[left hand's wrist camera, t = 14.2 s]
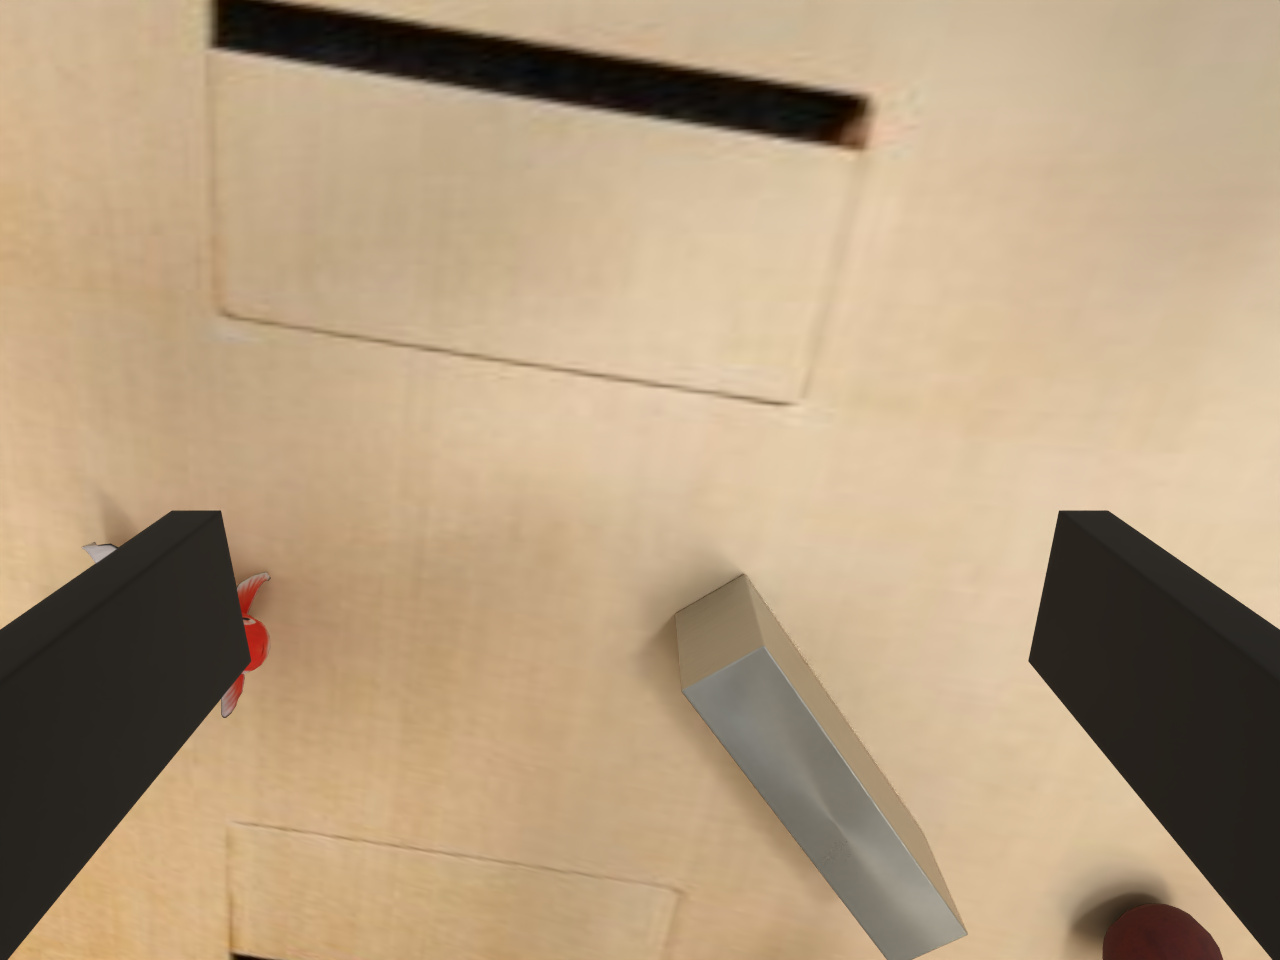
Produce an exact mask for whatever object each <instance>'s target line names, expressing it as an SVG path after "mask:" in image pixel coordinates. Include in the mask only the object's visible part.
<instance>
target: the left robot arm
mask: <svg viewBox="0 0 1280 960" xmlns="http://www.w3.org/2000/svg"><path fill="white" fill-rule="evenodd" d="M250 663H251V656H250V651H249V646H248V641H247V636H246V631H245V626H244V622H243V617H242V612H241V607H240V602H239V597H238V592H237V587H236V582H235V577H234V572H233V568H232V563H231V558H230V553H229V548H228V543H227V538H226V533H225V528H224V523H223V519H222V514H221V511H171V512H169V513H168V514H166V515H165V516H164V517H162V518H161V519H159V520H158V521H156V522H155V523H153V524H152V525H151V526H149V527H148V528H146V529H145V530H143V531H142V532H140V533H139V534H138V535H136V536H135V537H133V538H132V539H130V540H129V541H128V542H126V543H125V544H123V545H122V546H120V547H119V548H117V549H116V550H115V551H113V552H112V553H110V554H109V555H107V556H106V557H104V558H103V559H102V560H100V561H99V562H97V563H96V564H94V565H93V566H91V567H90V568H89V569H87V570H86V571H84V572H83V573H81V574H80V575H78V576H77V577H76V578H74V579H73V580H71V581H70V582H68V583H67V584H66V585H64V586H63V587H61V588H60V589H58V590H57V591H55V592H54V593H53V594H51V595H50V596H48V597H47V598H45V599H44V600H42V601H41V602H40V603H38V604H37V605H35V606H34V607H32V608H31V609H29V610H28V611H27V612H25V613H24V614H22V615H21V616H19V617H18V618H16V619H15V620H14V621H12V622H11V623H9V624H8V625H6V626H5V627H4V628H2V629H1V630H0V960H8V959H9V957H10V956H11V955H12V954H13V952H14V951H15V950H16V949H17V948H18V946H19V945H20V944H21V943H22V941H23V940H24V939H25V938H26V937H27V935H28V934H29V933H30V932H31V930H32V929H33V928H34V927H35V926H36V924H37V923H38V922H39V921H40V919H41V918H42V917H43V916H44V914H45V913H46V912H47V911H48V910H49V908H50V907H51V906H52V905H53V903H54V902H55V901H56V900H57V899H58V897H59V896H60V895H61V894H62V892H63V891H64V890H65V889H66V888H67V886H68V885H69V884H70V883H71V881H72V880H73V879H74V878H75V877H76V875H77V874H78V873H79V872H80V870H81V869H82V868H83V867H84V866H85V864H86V863H87V862H88V861H89V859H90V858H91V857H92V856H93V855H94V853H95V852H96V851H97V850H98V848H99V847H100V846H101V845H102V844H103V842H104V841H105V840H106V839H107V837H108V836H109V835H110V834H111V833H112V831H113V830H114V829H115V828H116V826H117V825H118V824H119V823H120V822H121V820H122V819H123V818H124V817H125V815H126V814H127V813H128V812H129V811H130V809H131V808H132V807H133V806H134V804H135V803H136V802H137V801H138V800H139V798H140V797H141V796H142V795H143V793H144V792H145V791H146V790H147V789H148V787H149V786H150V785H151V784H152V782H153V781H154V780H155V779H156V777H157V776H158V775H159V774H160V773H161V771H162V770H163V769H164V768H165V766H166V765H167V764H168V763H169V762H170V760H171V759H172V758H173V757H174V755H175V754H176V753H177V752H178V751H179V749H180V748H181V747H182V746H183V744H184V743H185V742H186V741H187V740H188V738H189V737H190V736H191V735H192V733H193V732H194V731H195V730H196V729H197V727H198V726H199V725H200V724H201V722H202V721H203V720H204V719H205V718H206V716H207V715H208V714H209V713H210V711H211V710H212V709H213V708H214V707H215V705H216V704H217V703H218V702H219V700H220V699H221V698H222V697H223V696H224V694H225V693H226V692H227V691H228V689H229V688H230V687H231V686H232V685H233V683H234V682H235V681H236V680H237V678H238V677H239V676H240V675H241V674H242V672H243V671H244V670H245V669H246V667H247V666H248V665H249V664H250ZM1029 663H1030V664H1031V665H1032V666H1033V667H1034V669H1035V670H1036V671H1037V672H1038V674H1039V675H1040V676H1041V677H1042V678H1043V680H1044V681H1045V682H1046V683H1047V685H1048V686H1049V687H1050V688H1051V689H1052V691H1053V692H1054V693H1055V694H1056V696H1057V697H1058V698H1059V699H1060V700H1061V702H1062V703H1063V704H1064V705H1065V707H1066V708H1067V709H1068V710H1069V711H1070V713H1071V714H1072V715H1073V716H1074V718H1075V719H1076V720H1077V721H1078V722H1079V724H1080V725H1081V726H1082V727H1083V729H1084V730H1085V731H1086V732H1087V733H1088V735H1089V736H1090V737H1091V738H1092V740H1093V741H1094V742H1095V743H1096V744H1097V746H1098V747H1099V748H1100V749H1101V751H1102V752H1103V753H1104V754H1105V755H1106V757H1107V758H1108V759H1109V760H1110V762H1111V763H1112V764H1113V765H1114V766H1115V768H1116V769H1117V770H1118V771H1119V773H1120V774H1121V775H1122V776H1123V777H1124V779H1125V780H1126V781H1127V782H1128V784H1129V785H1130V786H1131V787H1132V789H1133V790H1134V791H1135V792H1136V793H1137V795H1138V796H1139V797H1140V798H1141V800H1142V801H1143V802H1144V803H1145V804H1146V806H1147V807H1148V808H1149V809H1150V811H1151V812H1152V813H1153V814H1154V815H1155V817H1156V818H1157V819H1158V820H1159V822H1160V823H1161V824H1162V825H1163V826H1164V828H1165V829H1166V830H1167V831H1168V833H1169V834H1170V835H1171V836H1172V837H1173V839H1174V840H1175V841H1176V842H1177V844H1178V845H1179V846H1180V847H1181V848H1182V850H1183V851H1184V852H1185V853H1186V855H1187V856H1188V857H1189V858H1190V859H1191V861H1192V862H1193V863H1194V864H1195V866H1196V867H1197V868H1198V869H1199V870H1200V872H1201V873H1202V874H1203V875H1204V877H1205V878H1206V879H1207V880H1208V881H1209V883H1210V884H1211V885H1212V886H1213V888H1214V889H1215V890H1216V891H1217V892H1218V894H1219V895H1220V896H1221V897H1222V899H1223V900H1224V901H1225V902H1226V903H1227V905H1228V906H1229V907H1230V908H1231V910H1232V911H1233V912H1234V913H1235V915H1236V916H1237V917H1238V918H1239V919H1240V921H1241V922H1242V923H1243V924H1244V926H1245V927H1246V928H1247V929H1248V930H1249V932H1250V933H1251V934H1252V935H1253V937H1254V938H1255V939H1256V940H1257V941H1258V943H1259V944H1260V945H1261V946H1262V948H1263V949H1264V950H1265V951H1266V952H1267V954H1268V955H1269V956H1270V957H1271V959H1272V960H1280V630H1279V629H1278V628H1276V627H1275V626H1274V625H1272V624H1271V623H1269V622H1268V621H1266V620H1265V619H1264V618H1262V617H1261V616H1259V615H1258V614H1256V613H1255V612H1253V611H1252V610H1251V609H1249V608H1248V607H1246V606H1245V605H1243V604H1242V603H1240V602H1239V601H1238V600H1236V599H1235V598H1233V597H1232V596H1230V595H1229V594H1227V593H1226V592H1225V591H1223V590H1222V589H1220V588H1219V587H1217V586H1216V585H1214V584H1213V583H1212V582H1210V581H1209V580H1207V579H1206V578H1204V577H1203V576H1202V575H1200V574H1199V573H1197V572H1196V571H1194V570H1193V569H1191V568H1190V567H1189V566H1187V565H1186V564H1184V563H1183V562H1181V561H1180V560H1178V559H1177V558H1176V557H1174V556H1173V555H1171V554H1170V553H1168V552H1167V551H1165V550H1164V549H1163V548H1161V547H1160V546H1158V545H1157V544H1155V543H1154V542H1152V541H1151V540H1150V539H1148V538H1147V537H1145V536H1144V535H1142V534H1141V533H1140V532H1138V531H1137V530H1135V529H1134V528H1132V527H1131V526H1129V525H1128V524H1127V523H1125V522H1124V521H1122V520H1121V519H1119V518H1118V517H1116V516H1115V515H1114V514H1112V513H1111V512H1109V511H1059V514H1058V519H1057V523H1056V528H1055V533H1054V538H1053V543H1052V548H1051V553H1050V558H1049V563H1048V568H1047V572H1046V577H1045V582H1044V587H1043V592H1042V597H1041V602H1040V607H1039V612H1038V617H1037V622H1036V626H1035V631H1034V636H1033V641H1032V646H1031V651H1030V656H1029Z"/></svg>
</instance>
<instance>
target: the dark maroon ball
mask: <svg viewBox="0 0 1280 960" xmlns="http://www.w3.org/2000/svg"><path fill="white" fill-rule="evenodd" d="M1103 960H1223V958H1222V955H1221V952H1220V949H1219V947H1218V945H1217V944H1216V942H1215V941H1214V939H1213V938H1212V936H1211V935H1210V933H1209V932H1208V931H1206V930H1205V929H1204V928H1203V927H1202V926H1201V925H1200V924H1199V923H1198V922H1197V921H1196V920H1195V919H1194V918H1193V917H1192V916H1191V915H1190V914H1188V913H1186V912H1184V911H1182V910H1181V909H1179V908H1176V907H1173V906H1169V905H1166V904H1144V905H1141V906H1137V907H1135V908H1132V909H1130V910H1128V911H1126V912H1125V913H1124V914H1123V915H1122V916H1121V917H1120V918H1119V919H1118V920H1117V921H1116V922H1114V923H1113V924H1112V925H1111V926H1110V927H1109V928H1108V931H1107V933H1106V935H1105V938H1104V942H1103Z"/></svg>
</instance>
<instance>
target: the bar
mask: <svg viewBox="0 0 1280 960" xmlns="http://www.w3.org/2000/svg"><path fill="white" fill-rule="evenodd" d="M675 619H676V631H677V643H678V655H679V667H680V679H681V690H682V693H683V694H684V695H685V697H686V698H687V699H688V700H689V702H690V703H691V704H692V706H693V707H694V708H695V710H696V711H697V712H698V713H699V715H700V716H701V717H702V719H703V720H704V721H705V723H706V724H707V725H708V727H709V728H710V729H711V730H712V732H713V733H714V734H715V736H716V737H717V738H718V740H719V741H720V742H721V744H722V745H723V746H724V747H725V749H726V750H727V751H728V753H729V754H730V755H731V757H732V758H733V759H734V761H735V762H736V763H737V764H738V766H739V767H740V768H741V770H742V771H743V772H744V774H745V775H746V776H747V777H748V779H749V780H750V781H751V783H752V784H753V785H754V787H755V788H756V789H757V791H758V792H759V793H760V794H761V796H762V797H763V798H764V800H765V801H766V802H767V804H768V805H769V806H770V808H771V809H772V810H773V811H774V813H775V814H776V815H777V817H778V818H779V819H780V821H781V822H782V823H783V825H784V826H785V827H786V828H787V830H788V831H789V832H790V834H791V835H792V836H793V838H794V839H795V840H796V842H797V843H798V844H799V845H800V847H801V848H802V849H803V851H804V852H805V853H806V855H807V856H808V857H809V858H810V860H811V861H812V862H813V864H814V865H815V866H816V868H817V869H818V870H819V872H820V873H821V874H822V875H823V877H824V878H825V879H826V881H827V882H828V883H829V885H830V886H831V887H832V889H833V890H834V891H835V892H836V894H837V895H838V896H839V898H840V899H841V900H842V902H843V903H844V904H845V906H846V907H847V908H848V909H849V911H850V912H851V913H852V915H853V916H854V917H855V919H856V920H857V921H858V922H859V924H860V925H861V926H862V928H863V929H864V930H865V932H866V933H867V934H868V936H869V937H870V938H871V939H872V941H873V942H874V943H875V945H876V946H877V947H878V949H879V950H880V951H881V953H882V954H883V955H884V956H885V958H886V959H887V960H912V959H914V958H916V957H919V956H921V955H923V954H925V953H928V952H930V951H932V950H935V949H937V948H939V947H941V946H944V945H946V944H948V943H950V942H953V941H955V940H957V939H959V938H962V937H964V936H966V935H967V931H966V929H965V926H964V924H963V922H962V919H961V917H960V915H959V913H958V910H957V908H956V906H955V904H954V901H953V899H952V897H951V894H950V892H949V890H948V888H947V885H946V883H945V881H944V879H943V876H942V874H941V872H940V869H939V867H938V865H937V863H936V860H935V858H934V856H933V853H932V851H931V849H930V847H929V844H928V842H927V840H926V838H925V835H924V833H923V832H922V830H921V829H920V827H919V826H918V824H917V823H916V821H915V820H914V819H913V817H912V816H911V814H910V813H909V811H908V810H907V808H906V807H905V805H904V804H903V803H902V801H901V800H900V798H899V797H898V795H897V794H896V792H895V791H894V789H893V788H892V787H891V785H890V784H889V782H888V781H887V779H886V778H885V776H884V775H883V773H882V772H881V771H880V769H879V768H878V766H877V765H876V763H875V762H874V760H873V759H872V758H871V756H870V755H869V753H868V752H867V750H866V749H865V747H864V746H863V744H862V743H861V742H860V740H859V739H858V737H857V736H856V734H855V733H854V731H853V730H852V728H851V727H850V726H849V724H848V723H847V721H846V720H845V718H844V717H843V715H842V714H841V712H840V711H839V710H838V708H837V707H836V705H835V704H834V702H833V701H832V699H831V698H830V696H829V695H828V694H827V692H826V691H825V689H824V688H823V686H822V685H821V683H820V682H819V681H818V679H817V678H816V676H815V675H814V673H813V672H812V670H811V669H810V667H809V666H808V665H807V663H806V662H805V660H804V659H803V657H802V656H801V654H800V653H799V651H798V650H797V649H796V647H795V646H794V644H793V643H792V641H791V640H790V638H789V637H788V635H787V634H786V633H785V631H784V630H783V628H782V627H781V625H780V624H779V622H778V621H777V619H776V618H775V617H774V615H773V614H772V612H771V611H770V609H769V608H768V606H767V605H766V604H765V602H764V601H763V599H762V598H761V596H760V595H759V593H758V592H757V590H756V589H755V588H754V586H753V585H752V583H751V582H750V580H749V579H748V577H747V576H746V575H745V574H744V575H742V576H740V577H739V578H737V579H735V580H733V581H732V582H730V583H728V584H726V585H725V586H723V587H721V588H719V589H718V590H716V591H714V592H712V593H711V594H709V595H707V596H705V597H704V598H702V599H700V600H699V601H697V602H695V603H693V604H692V605H690V606H688V607H686V608H685V609H683V610H681V611H679V612H678V613H676V614H675Z"/></svg>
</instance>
